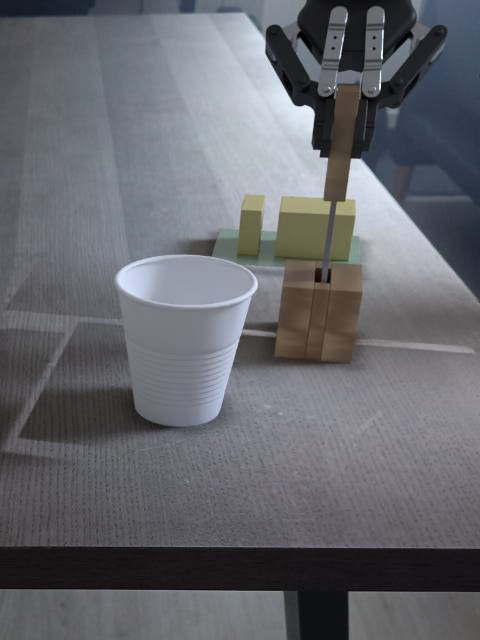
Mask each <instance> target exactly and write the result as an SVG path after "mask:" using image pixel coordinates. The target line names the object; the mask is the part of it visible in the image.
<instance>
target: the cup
mask: <svg viewBox="0 0 480 640" xmlns="http://www.w3.org/2000/svg"><path fill="white" fill-rule="evenodd" d="M258 283H259V282H258V279H257V277H256V275H255V274H254V273H253V272H252V271H251V270H250V269H248V268H246V267H244V265H242V264H236V263H234V262H231V261H227V260H224V259H219V258H214V257H212V256H208V255H199V254H166V255H165V254H164V255H157V256H150V257H145V258H142V259H138V260H135V261H132V262H130V263H128V264H127V265H125V266H122V267H121V268H120V269H119V270H118V271H117V272H116V273H115V275H114V278H113V284H114V287H115V289H116V290H117V292H118V297H119V304H120V312H121V318H122V319H121V320H122V326H123V332H124V338H125V346H126V353H127V360H128V367H129V375H130V381H131V386H132V394H133V403H134V409H135V411H136V413H138V414H139V416H140V417H142V418H144V419H145V420H147V421H149V422H152V423H155V424H157V425H162V426H166V427H175V428H176V427H177V428H180V427H182V428H183V427H184V428H185V427H194V426H198V425H204V424H206V423H208V422H210V421H212V420H214V419H215V418H216V417H217V416H218V415H219V413H220V412H221V409H222V405H223V401H224V397H225V393H226V390H227V385H228V382H229V378H230V374H231V372H232V367H233V364H234V361H235V357H236V354H237V349H238V347H239V342H240V337H241V336H242V332H243V329H244V326H245V322H246V318H247V314H248V311H249V308H250V304H251V301H252V298H253V295H254V294H255V293H256V291H257V290H258Z"/></svg>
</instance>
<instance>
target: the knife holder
mask: <svg viewBox="0 0 480 640" xmlns="http://www.w3.org/2000/svg"><path fill="white" fill-rule="evenodd" d="M322 265H323V262H311V261H294V260H286V264H285V267H284V271H283V272H284V273H283V279H282V286H281V295H280V302H279V303H280V304H279V310H278V311H279V312H278V320H277V330H276V337H275V346H274V354H273V355H274V356H273V357H274V358H283V359H293V360H294V359H296V360H304V361H305V360H307V361H319V362H329V363H330V362H331V363H343V364H352V362H353V356H354V351H355V344H356V338H357V337H356V336H357V331H358V325H359V318H360V312H361V308H362V307H361V306H362V299H363V294H364V291H363V289H364V288H363V287H364V285H363V265H362V264H361V263H360V264H344V263H329V266H328V273H327V281H326V283H320V281H321V273H322Z"/></svg>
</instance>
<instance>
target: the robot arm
mask: <svg viewBox="0 0 480 640" xmlns="http://www.w3.org/2000/svg"><path fill="white" fill-rule="evenodd" d="M448 34H449V29H448V27H446V26H445V25H443V24H436V25H434V26H433V27H429V26H428V25H425V24H424V23H422V22H420V21H418V13H417V11H416V9H415V7H414V6H413V2H412V0H305V3H304V5H303V7H302V8H301V9H300V10H299V12H298V14H297V17H296V21H294V22H292V23H290V24H288V25H286V26H284V27H282V26H280V25H279V24H270V25H269V26H267V28H266V29H265V42H264V43H265V44H264V54H265V56H266V58H267V60H268V61H269V63H270V66H271V67H272V68H273V70H274V72H275V74H276V76H277V78H278V80H279V81H280V83H281V85H282V86H283V88H284V90H285V92H286V94H287V96H288V97H289V99H290V101H291V103H292V105H294V106H295V107H298V108H299V107H300V108H301V107H305V106H306V107H308V108H310V109H312V111H313V113H314V117H313V124H312V125H313V126H312V134H311V143H310V144H311V147H312V150H313V151H319V159H328V158H329V155H330V149H331V141H332V132H333V123H334V110H335V101H336V99H335V95H336V90H337V84H338V78H339V73H343V72H348V71H353V72H355V73H356V72H357V73H359V74H360V75H359V84H360V98H359V105H358V112H357V116H356V123H355V130H354V138H353V145H352V152H351V160H361V159H362V155H363V152H367V153H369V151H370V150H371V148H372V147H373V144H374V138H375V133H376V123H377V115H378V114H377V113H378V112H379V111H380V110H382V109H385V108H388V109H390V110H395V109H398V108H400V107H401V106H402V105H403V104H404V102H405V101H406V100H407V98H408V97H409V96H410V95H411V94H412V92H413V91H414V90H415V88H417V86H418V85H419V83H420V82H421V81H422V80H423V79H424V77H426V75H427V74H428V73H429V71H430V70H431V69H432V68H433V66H434V65H435V64H436V63H437V62H438V60H439V59H440V58H441V57H442V54H443V51H444V48H445V45H446V42H447V38H448ZM299 40H301V42H302V43H303V45H304V46H305V47H306V48H307V50H308V51H309V52H310V55H312V57H313V58H314V60H315V61H316V62H317V64H318V65H319V66H320V67H321V68H320V74H319V80H318V81H315V80H312V79H311V77H310V75H309V73H308V71H307V70H306V68H305V66H304V65H303V63H302V61H301V60H300V58H299V56H298V53H297V52H298V46H299V45H298V43H299ZM408 40H409V41H410V45H409V49H408V56H407V58H406V60H404V62H403V63H402V65H400V67H399V68H398V69H397V71H396V72H395V73H394V74H393V75H392V76H391V78H390V79H389V80H387V81H383V82H382V66H383V65H384V64H385V63H386V62H388V61H389V60H390V58H391V57H392V56H393V55H394V54H395V53H396V52H397V51H398V50H399V49H400V48H401V47H402V46H403V45H404V44H405V43H406V42H407V41H408Z"/></svg>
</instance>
